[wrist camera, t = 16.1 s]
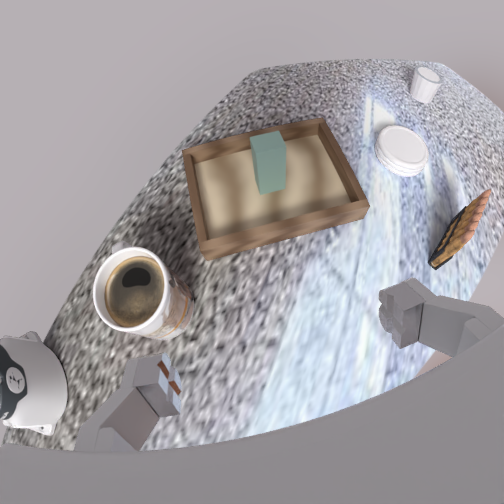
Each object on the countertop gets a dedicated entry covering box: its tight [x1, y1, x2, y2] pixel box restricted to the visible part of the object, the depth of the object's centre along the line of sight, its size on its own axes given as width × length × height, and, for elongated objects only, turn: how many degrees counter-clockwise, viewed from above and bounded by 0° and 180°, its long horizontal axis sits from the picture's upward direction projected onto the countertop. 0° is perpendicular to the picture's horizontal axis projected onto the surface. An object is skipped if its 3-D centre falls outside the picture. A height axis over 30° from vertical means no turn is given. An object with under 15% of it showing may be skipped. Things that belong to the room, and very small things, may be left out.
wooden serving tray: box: [182, 118, 370, 261], centre depth 44 cm, size 24×18×4 cm
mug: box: [93, 241, 194, 340], centre depth 36 cm, size 10×12×11 cm
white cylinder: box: [410, 66, 442, 103], centre depth 50 cm, size 7×7×7 cm
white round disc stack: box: [375, 125, 429, 177], centre depth 46 cm, size 10×10×4 cm
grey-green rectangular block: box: [250, 131, 286, 195], centre depth 41 cm, size 4×3×10 cm
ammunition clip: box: [428, 189, 491, 270], centre depth 35 cm, size 11×2×12 cm, turn 136°
